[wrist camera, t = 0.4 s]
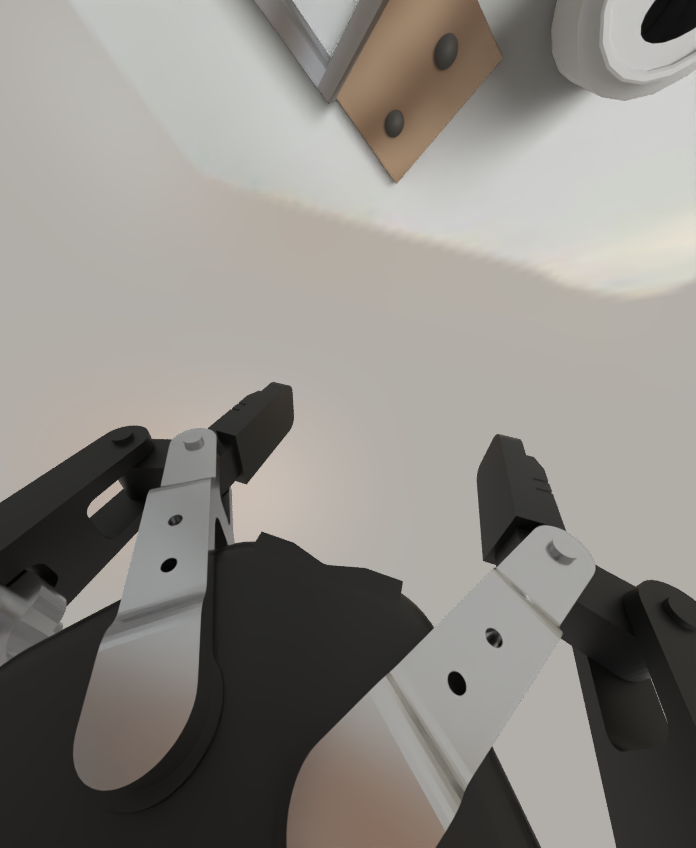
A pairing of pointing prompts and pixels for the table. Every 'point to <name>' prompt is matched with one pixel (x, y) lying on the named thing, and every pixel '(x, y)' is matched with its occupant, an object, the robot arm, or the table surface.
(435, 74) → the mounting bracket
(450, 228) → the table surface
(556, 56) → the can
